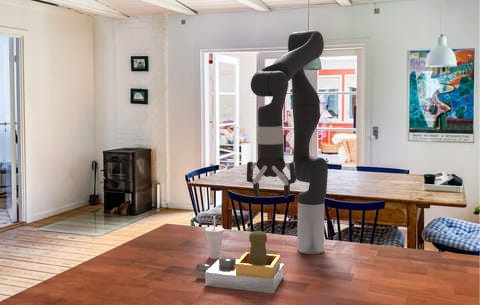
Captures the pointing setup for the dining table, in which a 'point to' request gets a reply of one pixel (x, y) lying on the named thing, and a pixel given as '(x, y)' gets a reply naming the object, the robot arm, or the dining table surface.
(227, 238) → the dining table surface
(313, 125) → the robot arm
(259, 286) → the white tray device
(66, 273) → the dining table surface
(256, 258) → the cork
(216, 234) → the smoothie
